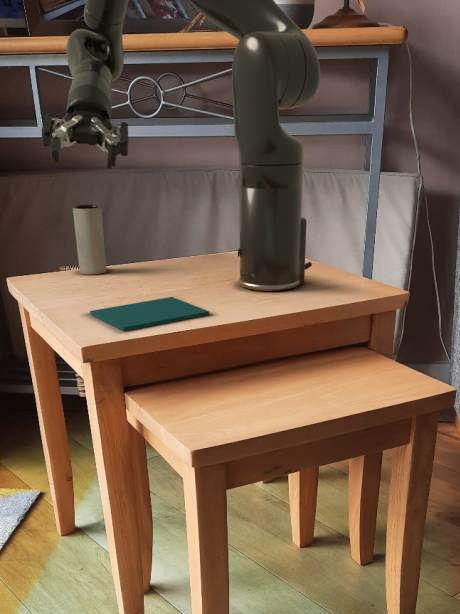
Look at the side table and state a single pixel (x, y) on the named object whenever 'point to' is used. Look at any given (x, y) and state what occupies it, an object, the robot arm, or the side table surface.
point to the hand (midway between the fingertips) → (83, 160)
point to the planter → (90, 239)
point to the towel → (148, 313)
